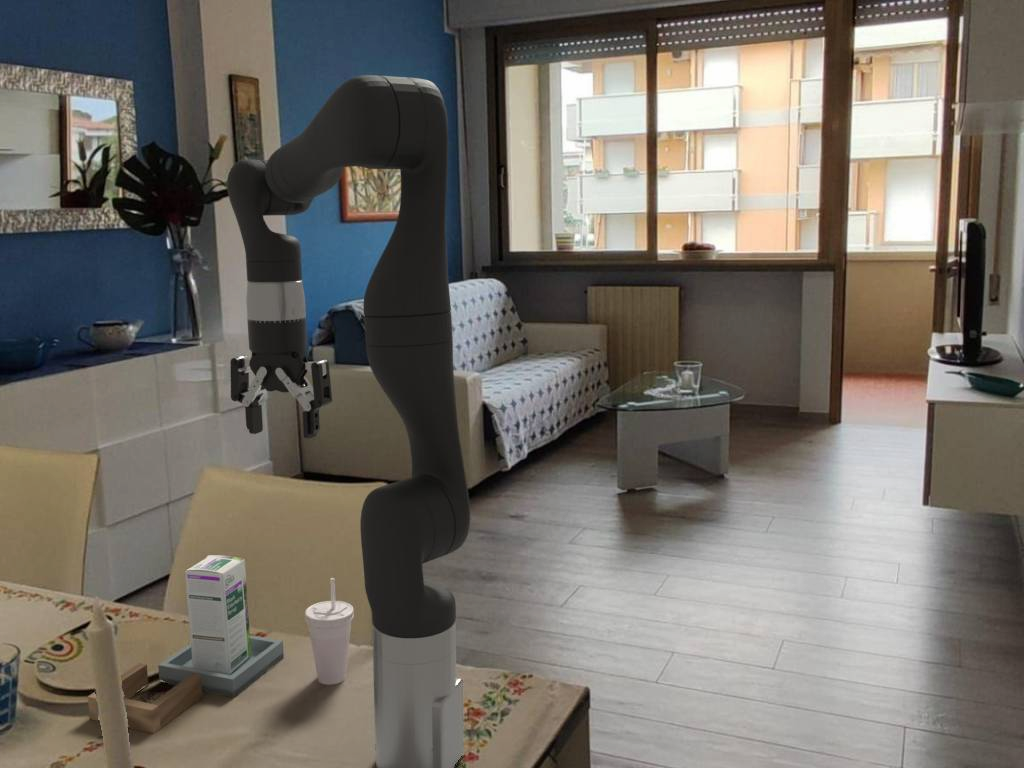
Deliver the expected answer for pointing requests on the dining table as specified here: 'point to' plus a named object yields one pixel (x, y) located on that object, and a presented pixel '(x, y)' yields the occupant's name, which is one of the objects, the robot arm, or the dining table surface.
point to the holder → (157, 711)
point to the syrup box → (218, 613)
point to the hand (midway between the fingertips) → (282, 434)
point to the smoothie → (330, 637)
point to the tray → (231, 685)
